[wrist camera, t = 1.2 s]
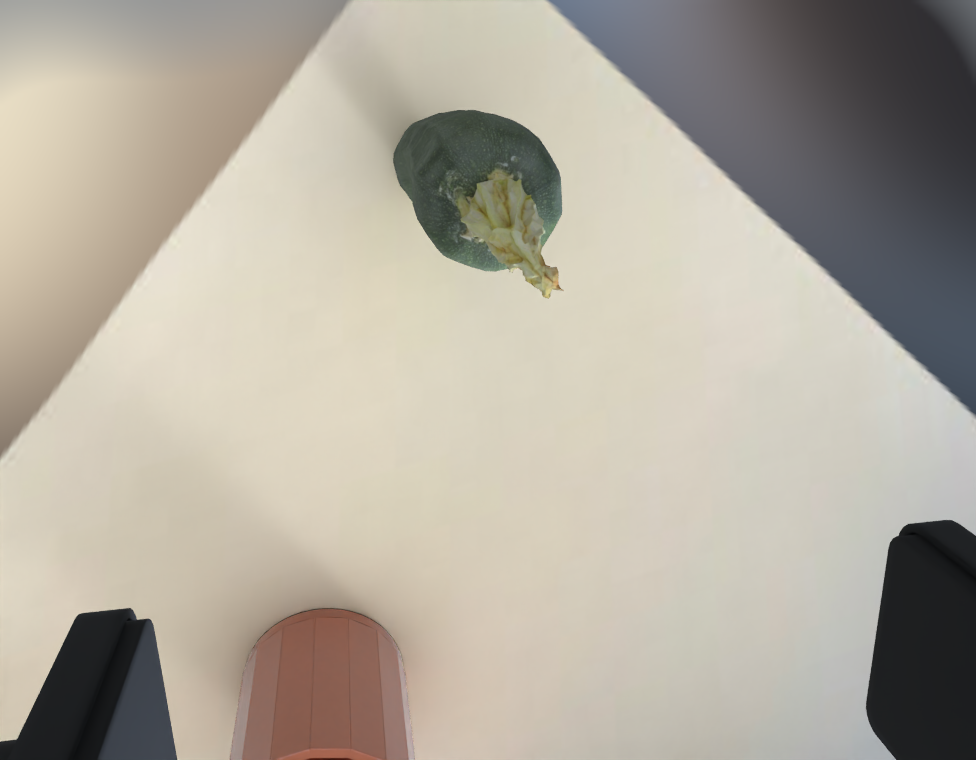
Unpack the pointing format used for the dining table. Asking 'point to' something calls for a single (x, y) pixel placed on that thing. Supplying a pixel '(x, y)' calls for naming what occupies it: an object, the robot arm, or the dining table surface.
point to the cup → (324, 692)
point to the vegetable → (483, 191)
